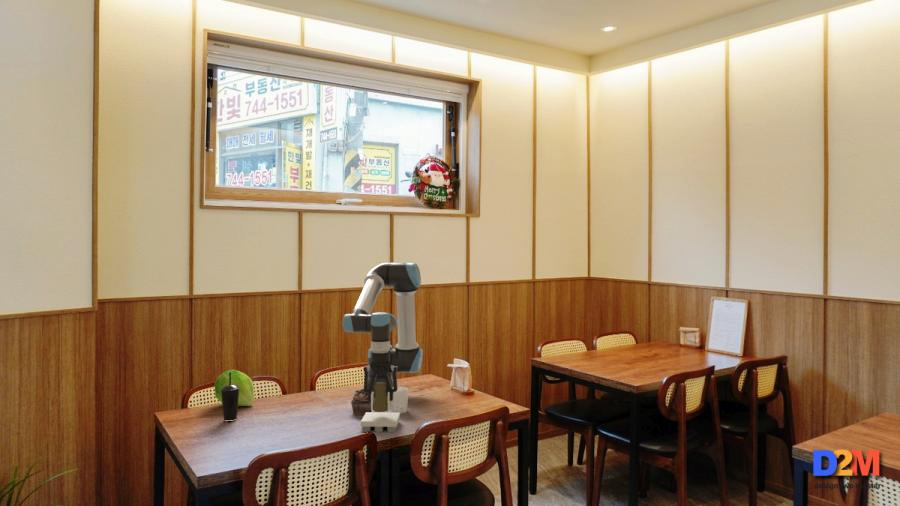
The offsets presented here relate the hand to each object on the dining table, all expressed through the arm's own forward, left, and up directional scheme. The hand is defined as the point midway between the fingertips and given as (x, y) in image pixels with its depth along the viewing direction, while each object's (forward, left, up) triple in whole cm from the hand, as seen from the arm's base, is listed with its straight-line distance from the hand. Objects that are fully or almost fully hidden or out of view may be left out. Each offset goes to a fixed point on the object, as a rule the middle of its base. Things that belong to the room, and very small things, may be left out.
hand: (380, 408), depth 230 cm
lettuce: (-29, -71, -7) cm, 77 cm away
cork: (0, 0, -1) cm, 1 cm away
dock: (0, 0, -7) cm, 7 cm away
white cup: (-21, +5, -7) cm, 23 cm away
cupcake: (-19, -11, -7) cm, 23 cm away
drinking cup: (-7, -64, -7) cm, 65 cm away
